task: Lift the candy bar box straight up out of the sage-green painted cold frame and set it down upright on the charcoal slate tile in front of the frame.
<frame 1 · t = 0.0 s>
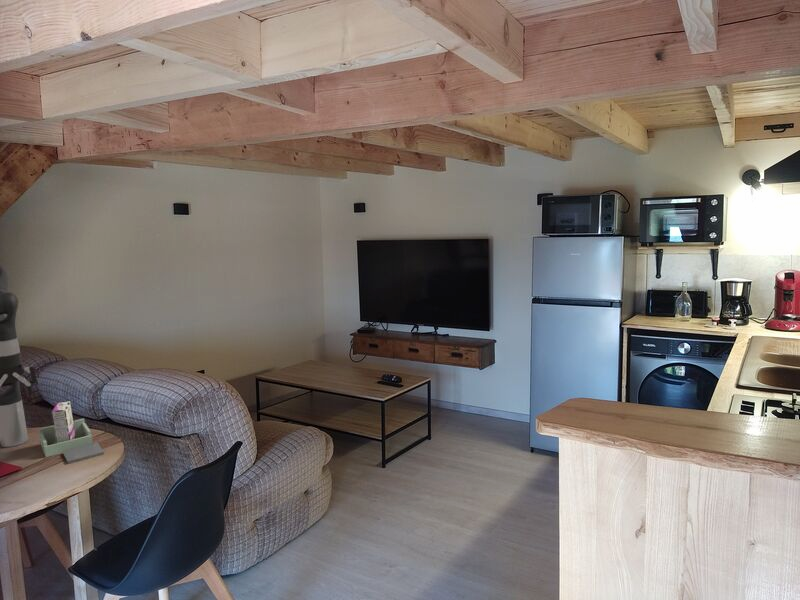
hand: (13, 399, 190), 29 cm above the table, fingers open, 8 cm apart
candy bar box: (67, 445, 224), resting in cold frame
cold frame: (66, 445, 224), on the table
slate tile: (83, 454, 215), on the table
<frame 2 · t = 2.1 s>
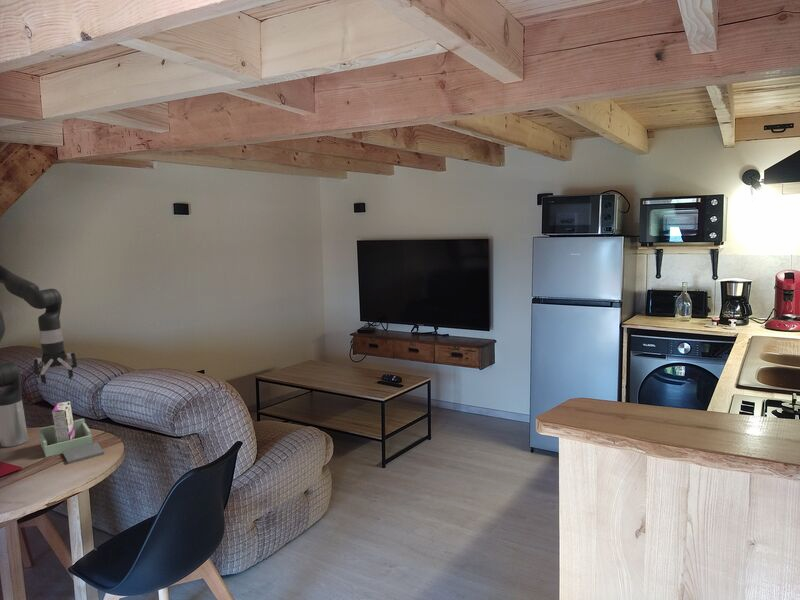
hand: (57, 381, 220), 26 cm above the table, fingers open, 8 cm apart
nothing on the table moved.
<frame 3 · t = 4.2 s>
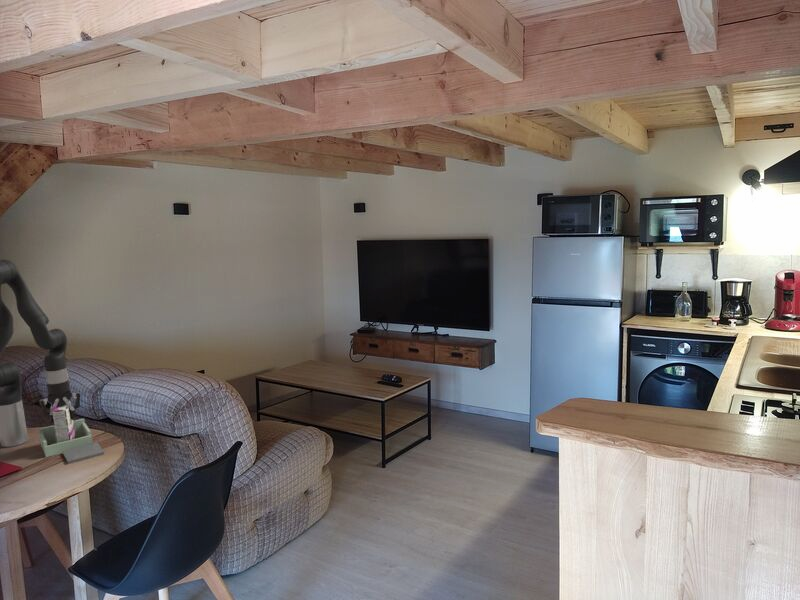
hand: (63, 421, 222), 10 cm above the table, fingers closed on candy bar box, 5 cm apart
candy bar box: (67, 445, 224), resting in cold frame, touching gripper
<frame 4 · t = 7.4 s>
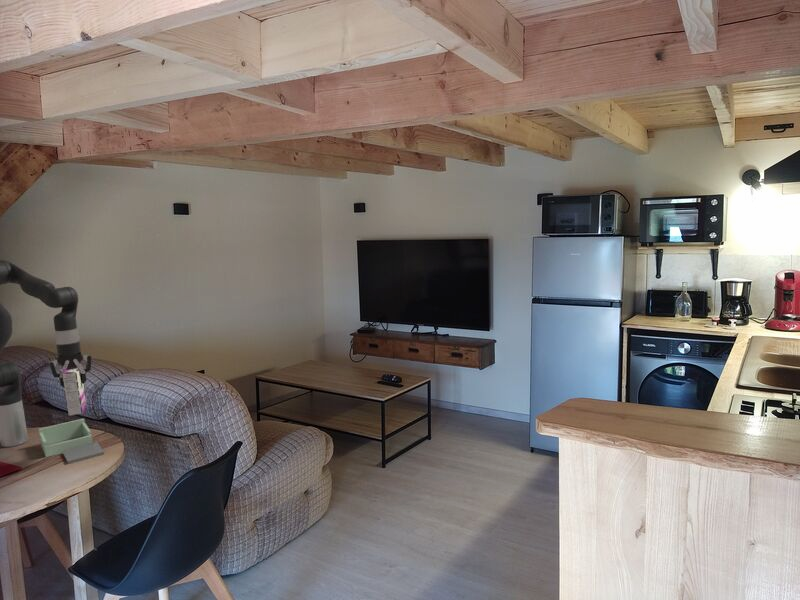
hand: (73, 384, 211), 27 cm above the table, fingers closed on candy bar box, 5 cm apart
candy bar box: (77, 411, 212), point 17 cm above the table, touching gripper
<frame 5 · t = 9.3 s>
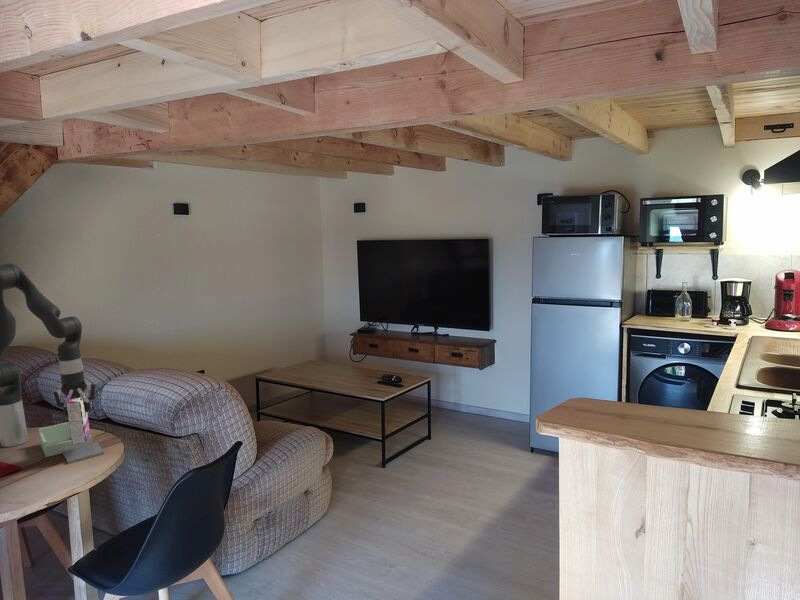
hand: (77, 413, 212), 16 cm above the table, fingers closed on candy bar box, 5 cm apart
candy bar box: (81, 439, 214), point 6 cm above the table, touching gripper
when the fingers open (12 cm above the table, at t = 11.0 s): candy bar box drops 1 cm, resting on slate tile.
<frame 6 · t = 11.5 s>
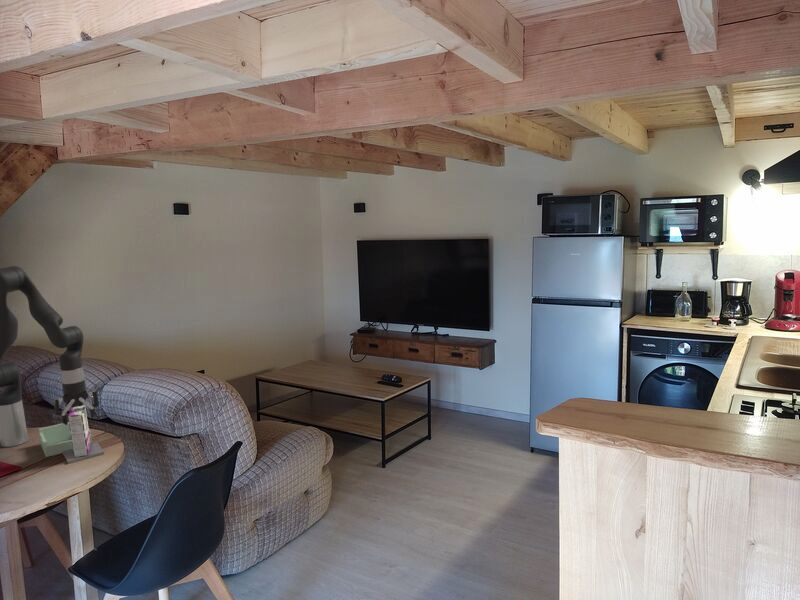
hand: (78, 421, 213), 13 cm above the table, fingers open, 8 cm apart
candy bar box: (82, 452, 215), point 1 cm above the table, touching slate tile
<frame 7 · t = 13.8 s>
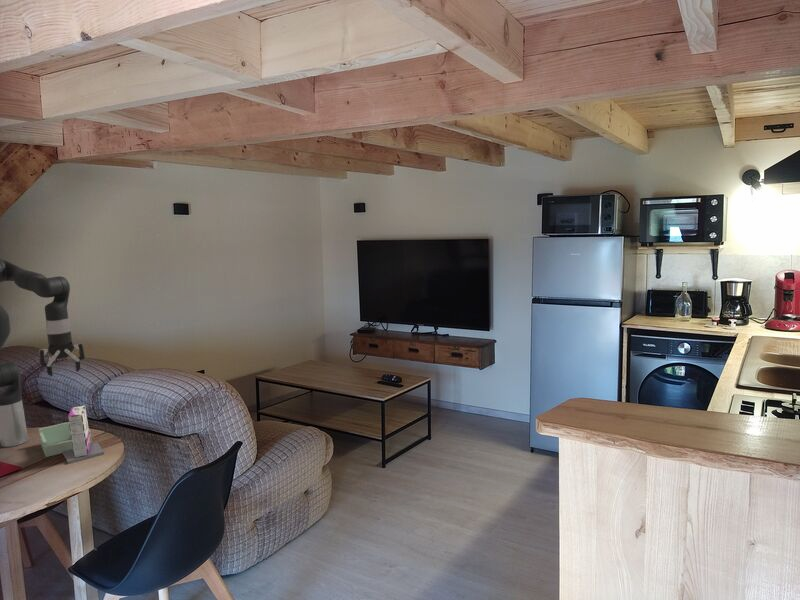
hand: (64, 373, 210), 32 cm above the table, fingers open, 8 cm apart
nothing on the table moved.
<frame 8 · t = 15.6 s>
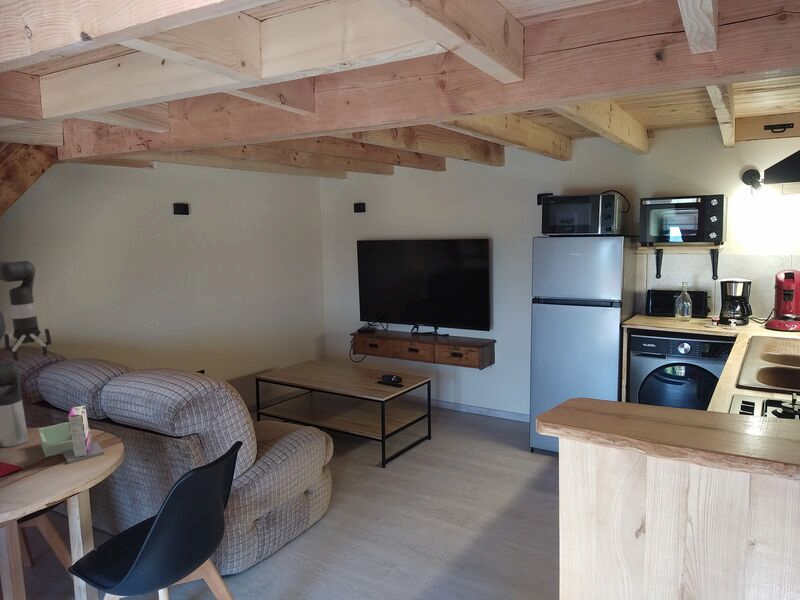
hand: (30, 358, 209), 38 cm above the table, fingers open, 8 cm apart
nothing on the table moved.
at the end: candy bar box inside the target area on the slate tile (0.2 cm from its centre), point 0.8 cm above the slate tile's base; candy bar box tilted 0°; the gripper is holding nothing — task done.
